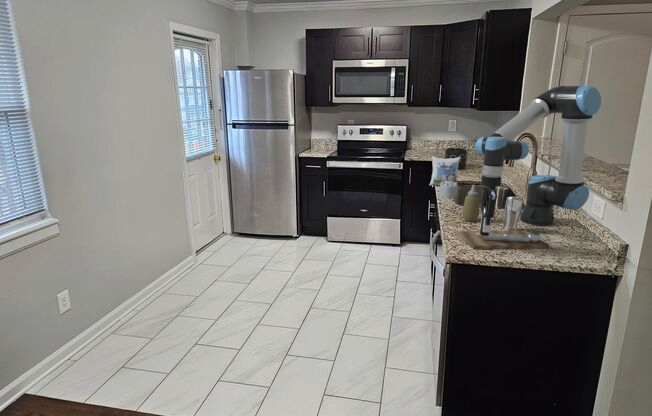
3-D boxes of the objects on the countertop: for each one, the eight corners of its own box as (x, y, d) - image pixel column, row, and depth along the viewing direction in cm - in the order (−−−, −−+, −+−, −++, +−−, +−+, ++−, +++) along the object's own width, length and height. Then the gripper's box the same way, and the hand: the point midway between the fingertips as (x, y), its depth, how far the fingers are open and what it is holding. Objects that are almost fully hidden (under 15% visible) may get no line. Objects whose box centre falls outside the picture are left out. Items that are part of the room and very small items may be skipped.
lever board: (522, 232, 192) (523, 228, 191) (548, 247, 173) (549, 244, 172) (455, 233, 189) (455, 229, 189) (473, 249, 170) (474, 245, 170)
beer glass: (498, 228, 197) (503, 197, 193) (510, 226, 199) (514, 196, 195) (510, 232, 191) (514, 200, 187) (521, 231, 193) (526, 199, 189)
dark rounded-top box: (460, 171, 335) (462, 151, 331) (439, 167, 347) (441, 149, 343) (470, 168, 348) (472, 149, 344) (450, 165, 360) (452, 147, 355)
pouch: (428, 184, 287) (430, 155, 281) (456, 185, 285) (459, 155, 280) (430, 186, 279) (432, 156, 273) (459, 187, 278) (462, 157, 272)
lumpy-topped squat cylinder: (457, 194, 260) (458, 180, 258) (456, 199, 248) (457, 184, 246) (440, 192, 264) (441, 179, 261) (438, 197, 252) (439, 183, 249)
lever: (536, 239, 178) (541, 207, 174) (541, 243, 173) (546, 210, 169) (477, 236, 180) (481, 205, 176) (480, 240, 175) (484, 208, 171)
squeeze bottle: (465, 216, 214) (469, 182, 209) (480, 220, 209) (485, 184, 204) (458, 220, 208) (462, 184, 203) (474, 223, 203) (479, 187, 198)
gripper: (477, 171, 178) (471, 223, 184) (487, 179, 162) (480, 236, 169) (495, 172, 177) (488, 224, 184) (507, 180, 161) (499, 237, 168)
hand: (484, 230), depth 176 cm, fingers closed on lever, 4 cm apart
